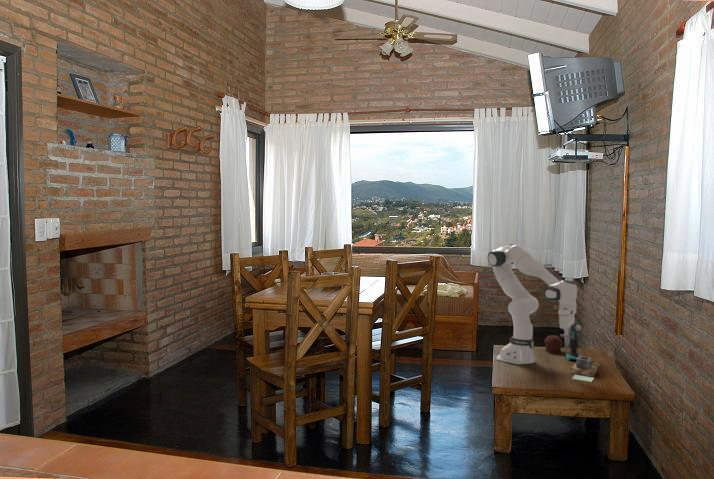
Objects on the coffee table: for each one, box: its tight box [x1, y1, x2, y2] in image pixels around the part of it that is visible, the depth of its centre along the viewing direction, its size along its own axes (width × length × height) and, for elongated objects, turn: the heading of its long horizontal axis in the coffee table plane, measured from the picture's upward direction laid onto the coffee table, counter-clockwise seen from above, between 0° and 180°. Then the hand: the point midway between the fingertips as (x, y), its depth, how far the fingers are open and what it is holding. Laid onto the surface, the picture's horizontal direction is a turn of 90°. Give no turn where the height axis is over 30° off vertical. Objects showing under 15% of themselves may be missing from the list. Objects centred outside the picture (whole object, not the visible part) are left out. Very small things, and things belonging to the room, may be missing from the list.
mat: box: [571, 374, 595, 383], centre depth 308 cm, size 10×8×1 cm
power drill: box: [564, 318, 584, 361], centre depth 344 cm, size 26×9×25 cm, turn 168°
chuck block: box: [570, 355, 600, 378], centre depth 319 cm, size 14×12×8 cm
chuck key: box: [559, 329, 574, 350], centre depth 314 cm, size 8×3×10 cm, turn 57°
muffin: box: [543, 334, 564, 354], centre depth 365 cm, size 12×11×10 cm
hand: (567, 333), depth 314 cm, fingers closed on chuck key, 3 cm apart
